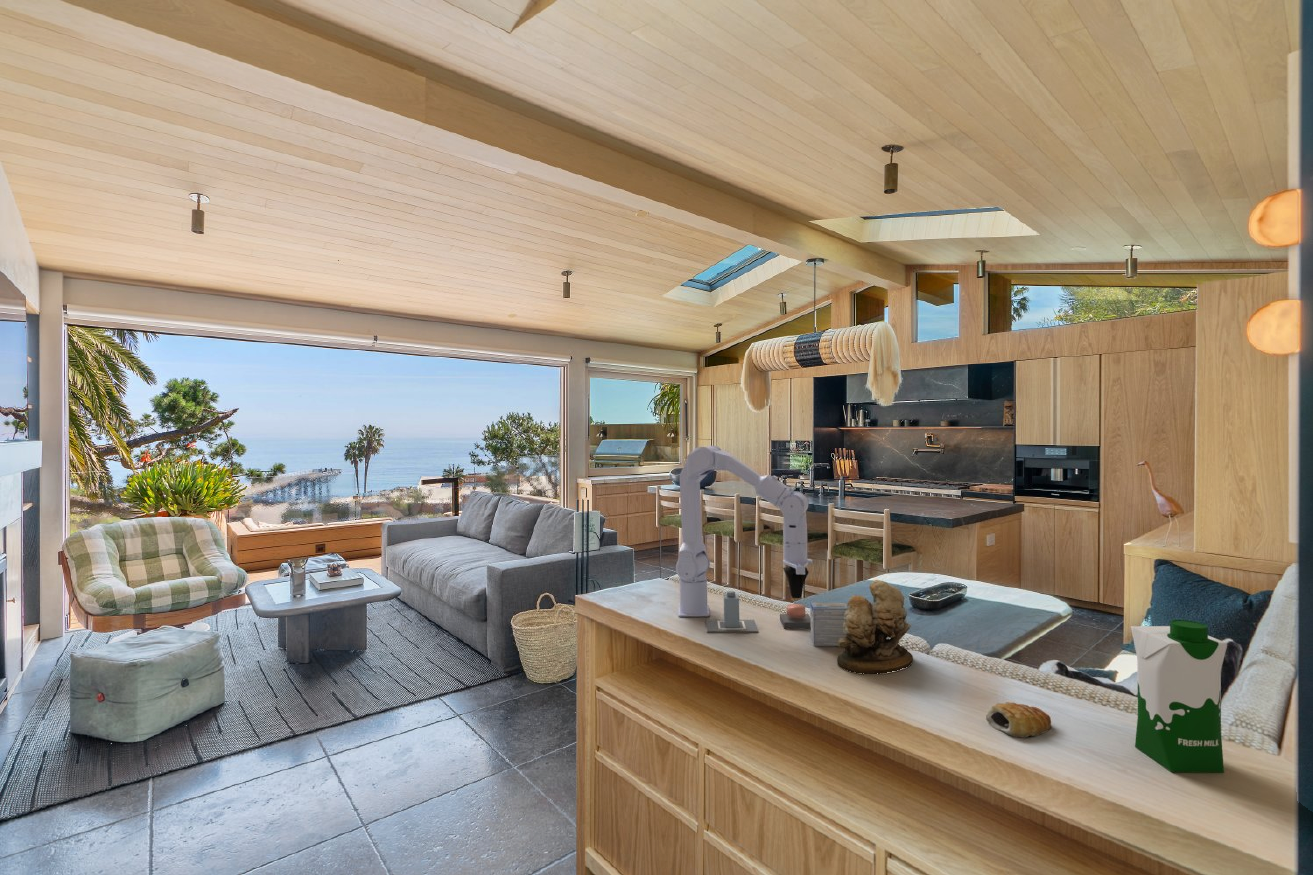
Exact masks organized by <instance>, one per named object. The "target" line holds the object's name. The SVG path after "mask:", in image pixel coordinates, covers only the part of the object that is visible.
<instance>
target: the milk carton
mask: <svg viewBox="0 0 1313 875" xmlns="http://www.w3.org/2000/svg"><path fill="white" fill-rule="evenodd" d="M1169 624H1170V625H1160V626H1159V625H1158V626H1157V625H1154V626H1152V625H1147V626H1146V625H1144V626H1141V625H1140V626H1138V625H1136V626H1135V625H1132V626H1131V625H1130V629H1131V635H1132V640H1133V644H1134V649H1135V654H1136V659H1137V662H1136V663H1137V664H1136V665H1137V670H1136V671H1137V673H1136V674H1137V722H1136V730H1135V731H1136V732H1135V743H1134V747H1135V748H1136V749H1137V750H1139V751H1140V752H1142V753H1143V754H1145V755H1146V756H1147V757H1149V758H1151V759H1152V760H1153V761H1155V762H1156V763H1157V764H1159V765H1160V766H1162V767H1164V768H1165V769H1166V770H1168V771H1169V772H1171V773H1195V774H1196V773H1199V774H1200V773H1203V774H1204V773H1207V774H1208V773H1210V774H1211V773H1212V774H1213V773H1214V774H1215V773H1219V774H1220V773H1221V774H1223V773H1225V770H1224V769H1225V768H1224V767H1225V765H1224V754H1223V741H1222V740H1223V739H1222V692H1221V690H1222V686H1221V684H1222V683H1221V682H1222V679H1221V678H1222V668H1223V663H1224V660H1225V655H1226V652H1227V648H1228V643H1227V642H1226V641H1223V640H1220V639H1218V638H1215V637H1213V636H1210V635H1209V630H1208V629H1209V627H1208V625H1207V624H1204V623H1202V622H1198V621H1193V620H1186V619H1173V620H1170V622H1169Z"/></svg>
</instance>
